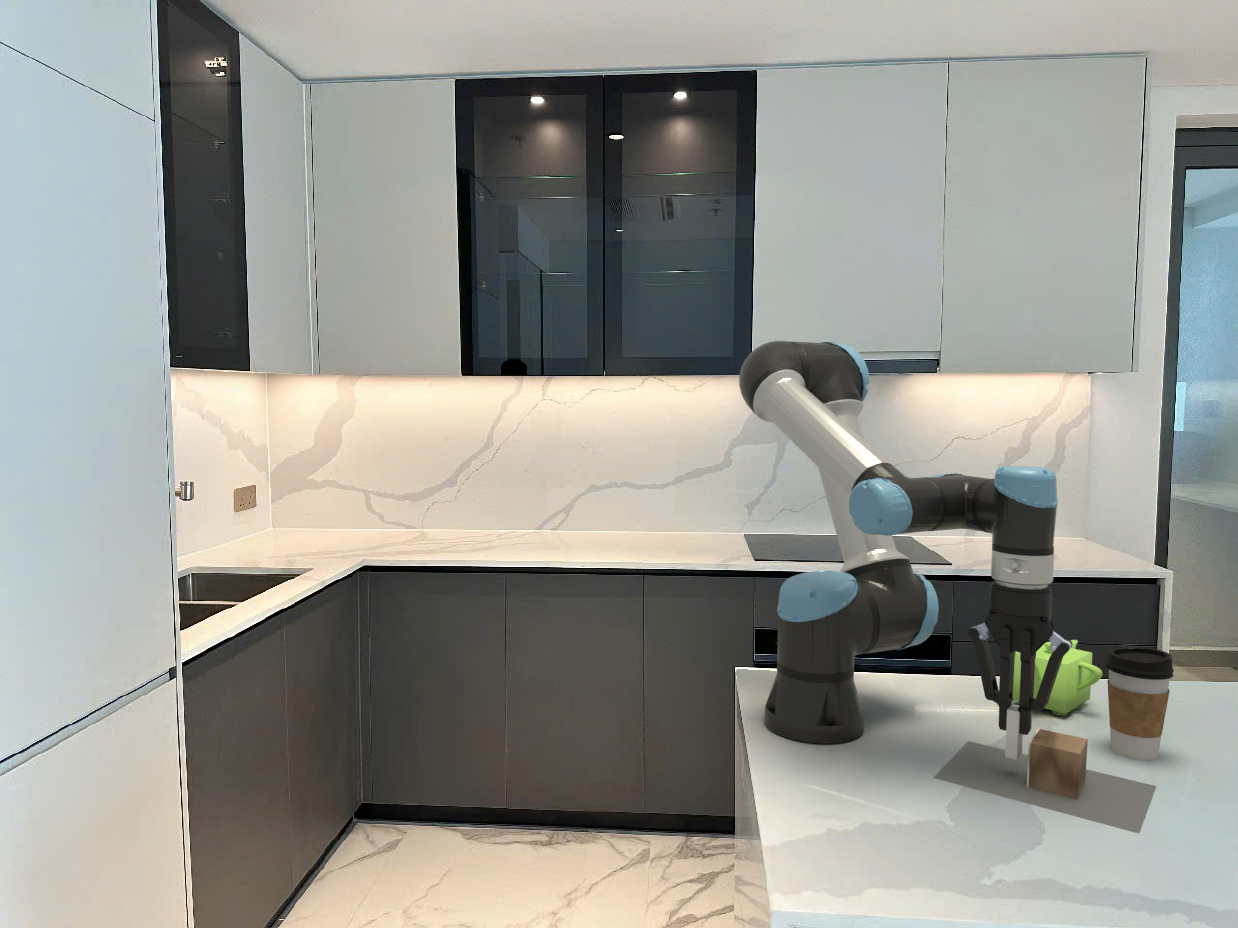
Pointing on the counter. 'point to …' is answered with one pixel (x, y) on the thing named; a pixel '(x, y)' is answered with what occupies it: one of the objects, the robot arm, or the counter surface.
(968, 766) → the rubber mat
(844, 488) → the robot arm
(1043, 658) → the teapot
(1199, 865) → the counter surface
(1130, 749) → the coffee cup
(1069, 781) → the walnut cube
